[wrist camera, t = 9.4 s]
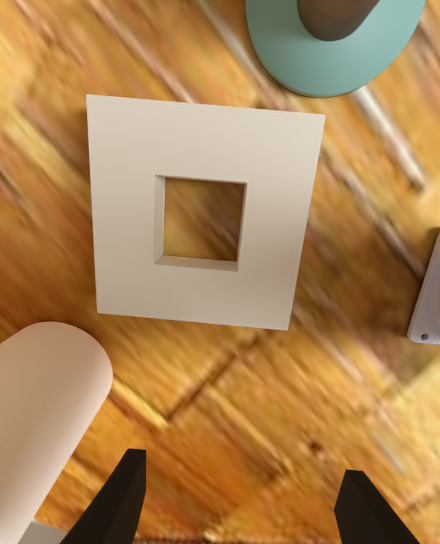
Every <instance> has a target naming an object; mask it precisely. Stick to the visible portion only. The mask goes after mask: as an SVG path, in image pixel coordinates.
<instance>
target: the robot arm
mask: <svg viewBox="0 0 440 544" xmlns="http://www.w3.org/2000/svg"><path fill="white" fill-rule="evenodd" d="M423 334H425V335H424V336H423V337H421V336H422V335H423ZM407 337H408V338H409V339H410V340H411V341H412V342H417V343H428V344H439V345H440V232H439V234H438V237H437V240H436V244H435V247H434V250H433V253H432V256H431V259H430V263H429V266H428V269H427V272H426V275H425V278H424V281H423V285H422V288H421V291H420V294H419V297H418V300H417V303H416V307H415V310H414V313H413V316H412V319H411V322H410V325H409V329H408V332H407ZM145 493H146V450H141V449H130V448H129V449H128V450H127V451H126V452H125V454H124V455H123V457H122V459H121V460H120V462H119V463H118V465H117V466H116V468H115V469H114V471H113V472H112V474H111V475H110V477H109V478H108V480H107V481H106V483H105V484H104V486H103V487H102V488H101V490H100V491H99V493H98V494H97V495H96V497H95V498H94V499H93V501H92V502H91V504H90V505H89V506H88V508H87V509H86V510H85V512H84V513H83V514H82V516H81V517H80V518H79V520H78V521H77V522H76V524H75V525H74V526H73V527H72V529H71V530H70V531H69V532H68V534H67V535H66V536H65V538H64V539H63V540H62V541H61V543H60V544H132V543H133V540H134V536H135V533H136V530H137V526H138V522H139V518H140V514H141V510H142V506H143V501H144V497H145ZM334 512H335V516H336V520H337V525H338V529H339V533H340V537H341V541H342V544H420V543H419V542H418V540H417V539H416V538H415V537H414V536H413V534H412V533H411V532H410V531H409V529H408V528H407V527H406V526H405V524H404V523H403V522H402V521H401V519H400V518H399V517H398V515H397V514H396V513H395V512H394V510H393V509H392V508H391V506H390V505H389V504H388V503H387V501H386V500H385V499H384V497H383V496H382V495H381V494H380V492H379V491H378V490H377V488H376V487H375V486H374V485H373V483H372V482H371V481H370V479H369V478H368V477H367V476H366V474H365V473H364V472H363V471H357V470H347V469H346V471H345V474H344V478H343V481H342V484H341V488H340V491H339V495H338V498H337V501H336V505H335V508H334Z"/></svg>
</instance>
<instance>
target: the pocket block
mask: <svg viewBox="0 0 440 544" xmlns="http://www.w3.org/2000/svg"><path fill="white" fill-rule="evenodd" d="M86 100H87V120H88V140H89V160H90V180H91V200H92V220H93V239H94V259H95V279H96V299H97V313H103V314H113V315H124V316H135V317H146V318H156V319H167V320H178V321H189V322H200V323H210V324H221V325H232V326H243V327H253V328H264V329H275V330H286V331H288V328H289V322H290V316H291V310H292V305H293V299H294V293H295V288H296V282H297V276H298V270H299V265H300V259H301V253H302V248H303V242H304V236H305V231H306V225H307V219H308V213H309V208H310V202H311V196H312V191H313V185H314V179H315V174H316V168H317V162H318V156H319V151H320V145H321V139H322V134H323V128H324V122H325V117H326V115H322V114H310V113H299V112H287V111H275V110H264V109H252V108H240V107H229V106H217V105H205V104H194V103H182V102H170V101H159V100H147V99H135V98H124V97H112V96H100V95H89V94H86ZM165 177H167V178H178V179H190V180H201V181H212V182H224V183H235V184H245V188H244V198H243V207H242V217H241V226H240V235H239V245H238V254H237V262H235V261H224V260H213V259H202V258H191V257H180V256H169V255H163V253H164V213H165Z"/></svg>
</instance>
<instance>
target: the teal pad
mask: <svg viewBox="0 0 440 544" xmlns="http://www.w3.org/2000/svg"><path fill="white" fill-rule="evenodd" d="M425 1H426V0H380V1H379V2H378V4H377V5H376V6H375V7H374V9H373V10H372V11H371V13H370V14H369V15H368V16H367V18H366V19H365V20H364V22H363V23H362V24H361V25H360V27H359V28H358V29H357V30H356V31H354V32H353V33H352V34H351V35H349V36H348V37H346V38H344V39H341V40H338V41H323V40H319V39H317V38H315V37H314V36H312V35H311V34H310V33H309V32H308V31H307V30H306V29H305V27H304V26H303V24H302V22H301V20H300V17H299V14H298V9H297V0H246V21H247V26H248V32H249V36H250V39H251V42H252V45H253V48H254V50H255V52H256V55H257V57H258V58H259V60H260V62H261V63H262V65H263V67H264V68H265V69H266V70H267V72H268V73H269V74H270V75H271V76H272V77H273V78H274V79H275V80H276V81H277V82H278V83H280V84H281V85H282V86H284V87H285V88H287V89H289V90H291V91H293V92H295V93H297V94H300V95H303V96H307V97H313V98H330V97H337V96H341V95H344V94H347V93H350V92H352V91H354V90H357V89H359V88H360V87H362V86H364V85H365V84H367V83H369V82H370V81H371V80H372V79H374V78H375V77H376V76H378V75H379V74H380V73H381V72H383V71H384V70H385V69H386V68H387V67H388V66H389V65H390V64H391V63H392V62H393V61H394V60H395V59H396V57H397V56H398V55H399V54H400V53H401V51H402V50H403V48H404V47H405V45H406V44H407V42H408V41H409V39H410V38H411V36H412V34H413V32H414V30H415V28H416V26H417V24H418V21H419V19H420V16H421V14H422V11H423V8H424V4H425Z"/></svg>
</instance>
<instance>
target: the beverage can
mask: <svg viewBox="0 0 440 544" xmlns="http://www.w3.org/2000/svg"><path fill="white" fill-rule="evenodd" d="M112 381H113V371H112V366H111V362H110V360H109V357H108V355H107V353H106V352H105V350H104V349H103V347H102V346H101V345H100V344H99V343H98V342H97V341H96V340H95V339H94V338H93V337H92V336H91V335H89V334H88V333H86V332H85V331H83V330H81V329H79V328H77V327H75V326H72V325H69V324H65V323H61V322H40V323H35V324H32V325H30V326H27V327H25V328H24V329H22V330H20V331H19V332H17V333H16V334H14V335H13V336H11V337H10V338H8V339H7V340H5V341H4V342H2V343H0V544H17V543H18V542H19V540H20V538H21V537H22V535H23V534H24V532H25V530H26V529H27V527H28V525H29V524H30V522H31V520H32V519H33V517H34V515H35V514H36V512H37V511H38V509H39V507H40V506H41V504H42V502H43V501H44V499H45V497H46V496H47V494H48V492H49V491H50V489H51V488H52V486H53V484H54V483H55V481H56V479H57V478H58V476H59V474H60V473H61V471H62V469H63V468H64V466H65V464H66V463H67V461H68V460H69V458H70V456H71V455H72V453H73V451H74V450H75V448H76V446H77V445H78V443H79V441H80V440H81V438H82V436H83V435H84V433H85V432H86V430H87V428H88V427H89V425H90V423H91V422H92V420H93V418H94V417H95V415H96V413H97V412H98V410H99V408H100V407H101V405H102V404H103V402H104V400H105V399H106V397H107V395H108V393H109V391H110V389H111V386H112Z"/></svg>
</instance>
